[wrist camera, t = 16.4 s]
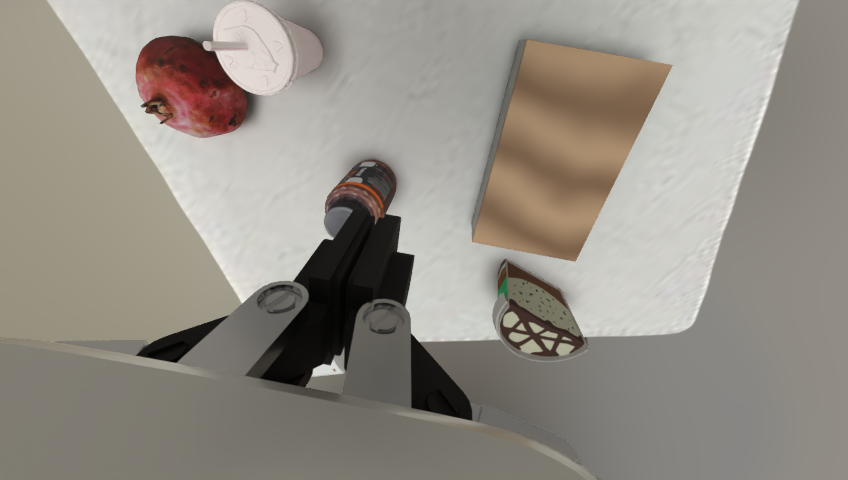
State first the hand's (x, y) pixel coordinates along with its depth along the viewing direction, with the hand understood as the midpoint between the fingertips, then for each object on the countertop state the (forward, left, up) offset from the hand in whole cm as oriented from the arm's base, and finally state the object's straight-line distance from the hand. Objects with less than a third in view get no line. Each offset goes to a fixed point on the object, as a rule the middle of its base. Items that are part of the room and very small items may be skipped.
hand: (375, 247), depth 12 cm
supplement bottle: (+9, -6, -27) cm, 29 cm away
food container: (+21, +16, -27) cm, 38 cm away
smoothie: (-4, -14, -27) cm, 31 cm away
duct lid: (+2, +13, -23) cm, 26 cm away
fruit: (+1, -24, -27) cm, 36 cm away
